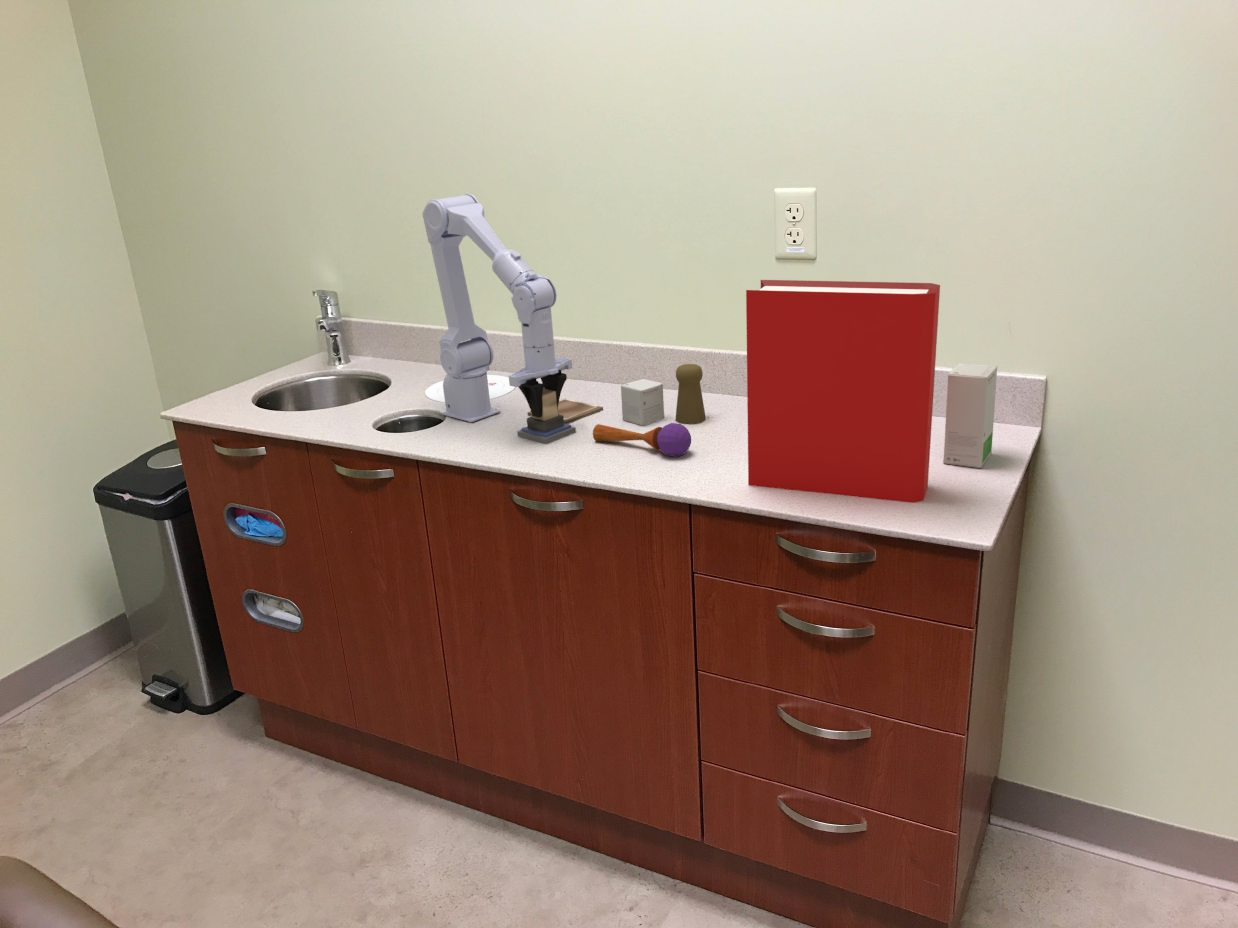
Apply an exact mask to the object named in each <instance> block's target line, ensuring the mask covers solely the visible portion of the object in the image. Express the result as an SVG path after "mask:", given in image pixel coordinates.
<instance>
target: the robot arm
mask: <svg viewBox="0 0 1238 928" xmlns="http://www.w3.org/2000/svg"><path fill="white" fill-rule="evenodd" d="M422 218H423V223H424V228H425V231H426V233H425V234H426V237H427V241H428V243H429V245H430V249H431V253H432V259H433V263H434V268H435V272H436V277H437V281H438V286H439V290H440V295H441V296H440V297H441V300H442V304H443V305H442V306H443V309H444V314H445V318H446V323H447V327H448V329H447V330H446V331H445V333H444V334H443V335H442V337H441V338H440V339H439V341H438V342H439V346H440V347H439V348H440V353H439V355H440V356H439V361H440V364H441V367H442V369H443V371H444V373H446V375H445V377H444V378H443V381H442V387H443V388H442V389H443V396H444V405H445V406H444V407H445V411H444V412H442V415H443V416H446V417H449V418H452V419H453V418H454V419H458V420H462V421H465V422H469V423H474V422H476V421H480V420H482V419H484V418H488V417H491V416H493V415H496V414H499V413H500V412H501V409H497V408H493V407H491V398H490V397H491V396H490V389H489V388H490V387H489V380H488V371H490V366H491V365H492V364H493V362H494V361H493V360H494V349H493V347H492V345H491V343H490V341H489V339H488V334H487V331H486V330H484V329H483V328H482V327H480V326H478V325H477V324H476V323H475V319H474V314H473V309H472V305H471V299H470V294H469V290H468V286H467V281H466V277H465V276H466V275H465V271H464V266H463V262H462V256H461V252H460V244H461V243H462V241H463V239H464V238H465V237H468V238H469V239H471V241H472V242H473V243H474V244H476V246H477V247H478V248H479V249H480V250H481V251H482V252H483V253H484V254H485V255H486V256H487V257H488V258H489V259H490V260H491V261H492V264H491V268H492V271H493V273H494V274H495V276H497V278H499V280H500V281H501V283H502V284H503V285H504V287H506V288H507V289H508V291H509V292H510V294H511V295H512V296H511V297H510V298H511V303H512V305H513V307H514V309H515V311H516V314H517V320H518V321H519V322H520V324H521V333H522V335H521V336H522V346H523V355H524V356H523V357H524V367H523V368H522V369H520V370H518V371H517V372H515V373H511V374H510V375H508V384H509V386H510V387H514V388H519V390H520V391H521V393H522V395H523V396H524V399H525V400H526V402H527V404H528V408H529V410H530V411H531V413H532V416H535V417H539V418H540V417H542V412H543V409H542V395H543V389H548V390H553V391H556V401H557V410H558V404H559V401H560V399H561V393H562V390H563V387H564V385H565V383H566V382H567V379H568V378H567V374H566V373H565V372H564V373H563V372H562V371H565V370H572V369H573V362H572V358H568V357H563V358H562V357H561V358H558V359H556V353H555V341H554V339H555V338H554V329H553V318H552V307H554V306H555V304H556V302H557V298H558V297H557V290H556V287H555V285H554V284H553V282H552V280H551V279H550V278H549V277H547V276H542V275H541V274H540V273H535V271H534V270H533V269H532V268H531V266H530V265H529V264H528V263H527V262H526V260H524V258H523V257H522V255H521V254H520V253H519V251H517V250H516V249H507V247H506V246H505V244H504V243H502V242H503V241H501V240H500V238H499V236H498V235H497V234H496V232H495V231H494V229H493V228H492V226H491V225H490V224H489V222H488V221H487V220H486V218H485V208H484V206H483V205H482V204H481V203H480V201H479V200H478V197H476V196H475V195H473V194H472V193H466V194H463V195H457V196H451V197H444V198H433V199H430V200H428V201H427V202H426V204H425V207H424V209H423V211H422ZM538 379H540V380H541V383H540V382H539V381H538Z"/></svg>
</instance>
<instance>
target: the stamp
mask: <svg viewBox="0 0 1238 928" xmlns="http://www.w3.org/2000/svg"><path fill="white" fill-rule="evenodd" d="M542 409H543V412H542V417H540V418H539V417H535V416H529V417H527V418H526V425H527V426H526V427H528V428H529V429H533V430H537V431H540V432H544V433H546V432H549V431H551V430H554V429H556V428H559V427H562V426H564V417H563V415H559V414H558V412H557V401H556V391H553V390H548V389H543V395H542Z"/></svg>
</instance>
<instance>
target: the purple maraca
mask: <svg viewBox="0 0 1238 928" xmlns="http://www.w3.org/2000/svg"><path fill="white" fill-rule="evenodd" d="M592 438H593V440H594V441H595V442H598V443H599V442H603V443H604V442H625V441H643V442H645V443H646V444H648V445H649V446H651V448H653V449H655V450H657V451H661V452H662V453H663V454H665V455H666V456H668V457H675V458H676V457H680V456H683V455H684V454H686V452H687V451H688V450H689V449H690V447H691V444H692V435H691V432H690V431H689V429H688V428H687V427H686V426H685V425H684V424H681V423H678V422H676V423H675V422H670V423H668V424H665V425H664V426H658V427H656V428H653V429H651V430H649V431H646V432H644V433H641V432H636V431H632V430H627V429H623V428H617V427H614V426H609V425H604V424H600V423H597V424H596V425H594V427H593V430H592Z"/></svg>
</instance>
